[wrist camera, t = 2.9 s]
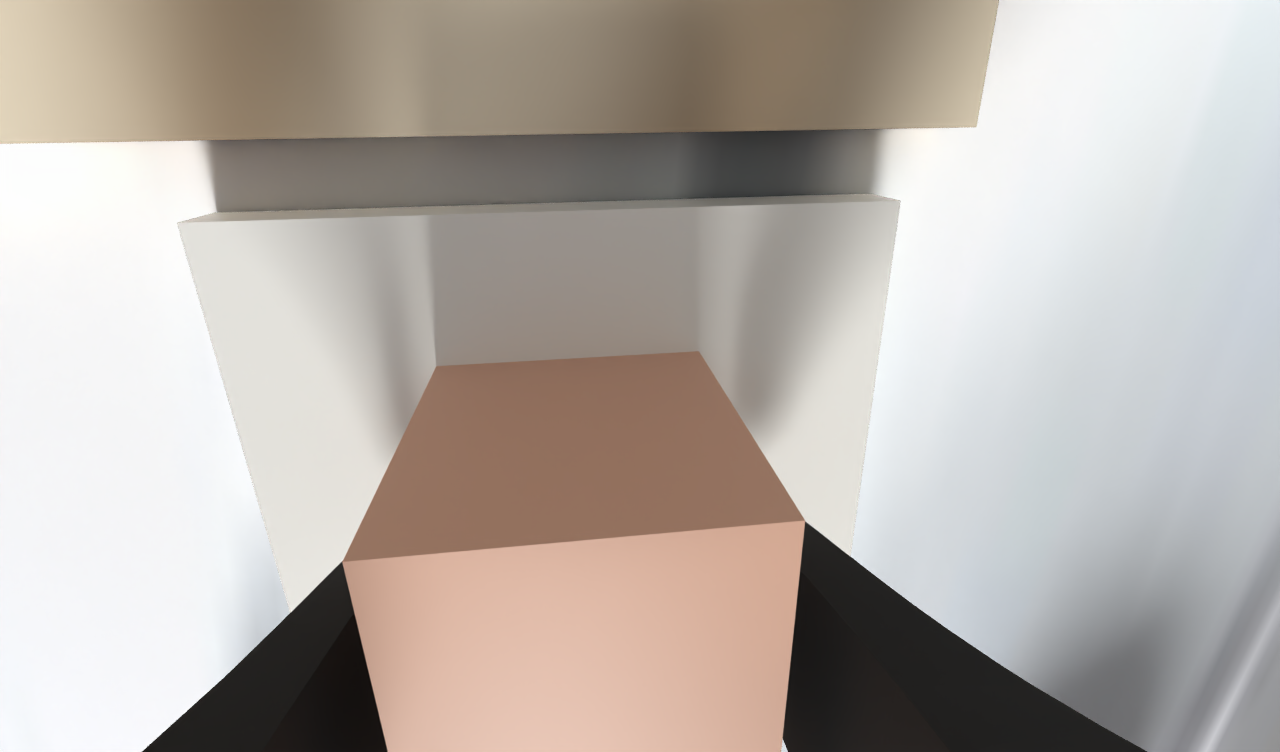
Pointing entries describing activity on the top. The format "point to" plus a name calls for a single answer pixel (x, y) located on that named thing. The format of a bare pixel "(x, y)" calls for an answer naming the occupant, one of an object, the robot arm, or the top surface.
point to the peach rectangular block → (578, 565)
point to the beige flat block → (483, 67)
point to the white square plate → (535, 331)
